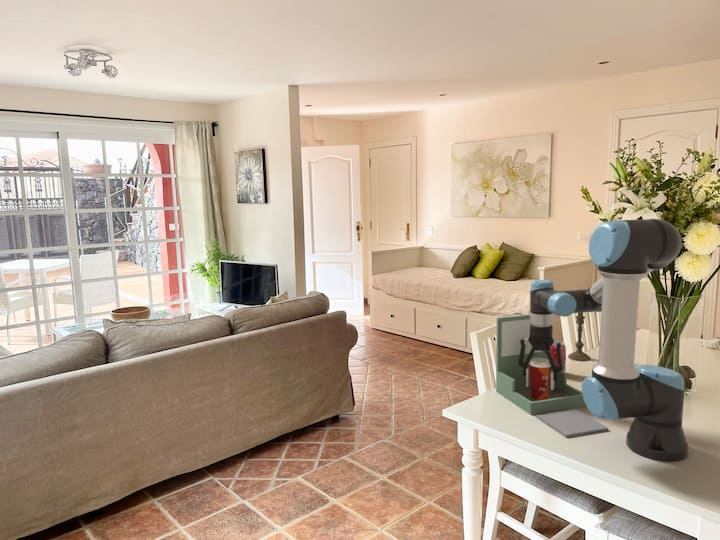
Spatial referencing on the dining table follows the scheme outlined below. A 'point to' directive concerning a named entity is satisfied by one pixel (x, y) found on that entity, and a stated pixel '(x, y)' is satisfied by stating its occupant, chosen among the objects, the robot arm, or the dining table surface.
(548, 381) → the paper cup
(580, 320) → the candlestick holder
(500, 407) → the dining table surface
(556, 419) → the rubber mat
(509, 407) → the dining table surface
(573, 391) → the green display box
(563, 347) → the soda can
